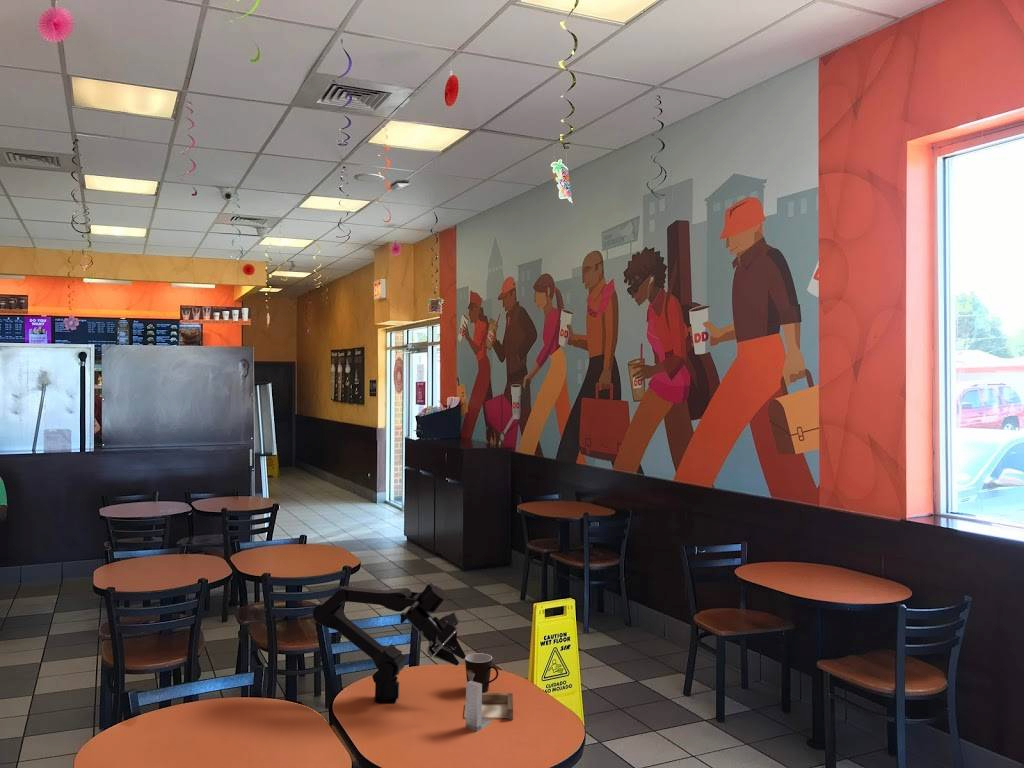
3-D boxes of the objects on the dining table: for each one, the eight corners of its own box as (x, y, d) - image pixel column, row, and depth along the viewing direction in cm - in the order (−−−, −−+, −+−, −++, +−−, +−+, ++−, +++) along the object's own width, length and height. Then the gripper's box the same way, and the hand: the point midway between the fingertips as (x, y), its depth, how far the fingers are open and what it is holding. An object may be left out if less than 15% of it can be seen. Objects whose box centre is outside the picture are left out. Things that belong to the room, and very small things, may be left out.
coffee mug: (460, 687, 252) (460, 655, 252) (485, 683, 255) (485, 651, 255) (474, 700, 241) (474, 667, 241) (500, 696, 245) (500, 663, 245)
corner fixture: (463, 719, 227) (463, 708, 227) (465, 702, 239) (465, 692, 239) (512, 719, 227) (513, 709, 227) (512, 703, 239) (512, 693, 239)
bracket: (465, 727, 222) (466, 682, 222) (478, 720, 226) (479, 676, 226) (476, 731, 219) (477, 685, 219) (490, 724, 224) (490, 679, 224)
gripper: (449, 595, 235) (487, 634, 232) (437, 612, 250) (472, 648, 248) (422, 622, 229) (461, 662, 226) (411, 637, 244) (448, 675, 242)
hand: (461, 661), depth 236 cm, fingers open, 9 cm apart
